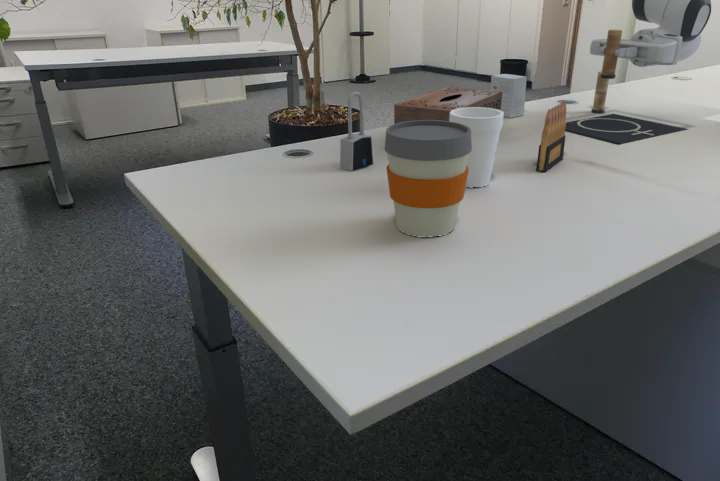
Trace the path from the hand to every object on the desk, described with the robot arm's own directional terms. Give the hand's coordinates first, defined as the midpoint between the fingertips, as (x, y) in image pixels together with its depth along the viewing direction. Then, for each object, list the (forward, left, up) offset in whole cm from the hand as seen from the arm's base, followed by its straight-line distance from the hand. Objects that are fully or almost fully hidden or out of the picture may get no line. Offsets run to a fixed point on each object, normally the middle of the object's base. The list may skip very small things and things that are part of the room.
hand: (609, 52), depth 130 cm
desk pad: (-4, -3, -18) cm, 19 cm away
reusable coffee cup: (-28, +72, -18) cm, 79 cm away
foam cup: (-16, +53, -18) cm, 58 cm away
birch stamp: (+12, -15, -18) cm, 27 cm away
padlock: (+5, +66, -18) cm, 68 cm away
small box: (+24, +8, -18) cm, 32 cm away
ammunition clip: (-16, +33, -18) cm, 41 cm away
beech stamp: (0, -1, -6) cm, 6 cm away
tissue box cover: (+11, +38, -18) cm, 43 cm away
